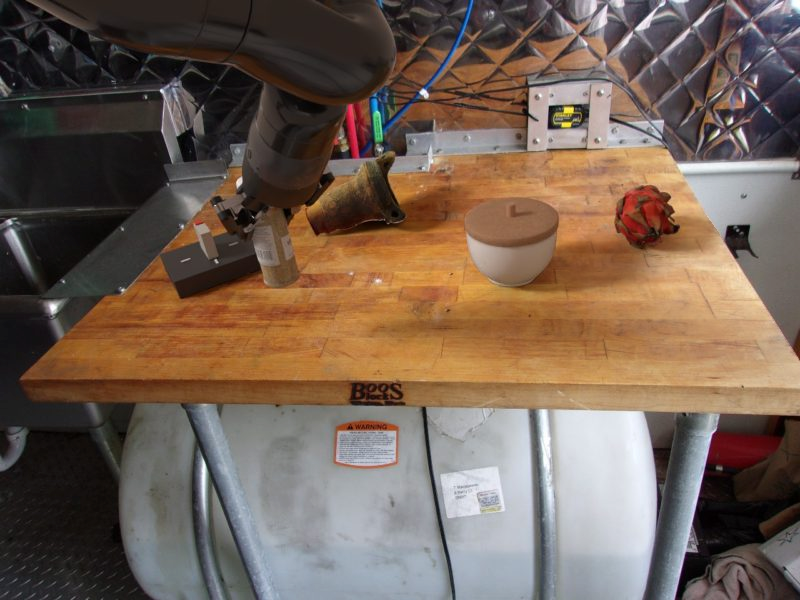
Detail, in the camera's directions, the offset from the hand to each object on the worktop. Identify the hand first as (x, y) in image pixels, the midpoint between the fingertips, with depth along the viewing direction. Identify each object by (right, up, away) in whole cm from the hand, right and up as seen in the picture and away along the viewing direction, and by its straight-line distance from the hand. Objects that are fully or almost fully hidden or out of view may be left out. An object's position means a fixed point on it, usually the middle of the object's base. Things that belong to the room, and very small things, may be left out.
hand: (263, 227), depth 70 cm
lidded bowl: (+32, -5, +15) cm, 36 cm away
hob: (-14, -4, +26) cm, 29 cm away
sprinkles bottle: (+2, -6, +2) cm, 7 cm away
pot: (+11, +6, +35) cm, 37 cm away
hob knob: (-14, -1, +24) cm, 28 cm away
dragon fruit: (+53, 0, +19) cm, 56 cm away
